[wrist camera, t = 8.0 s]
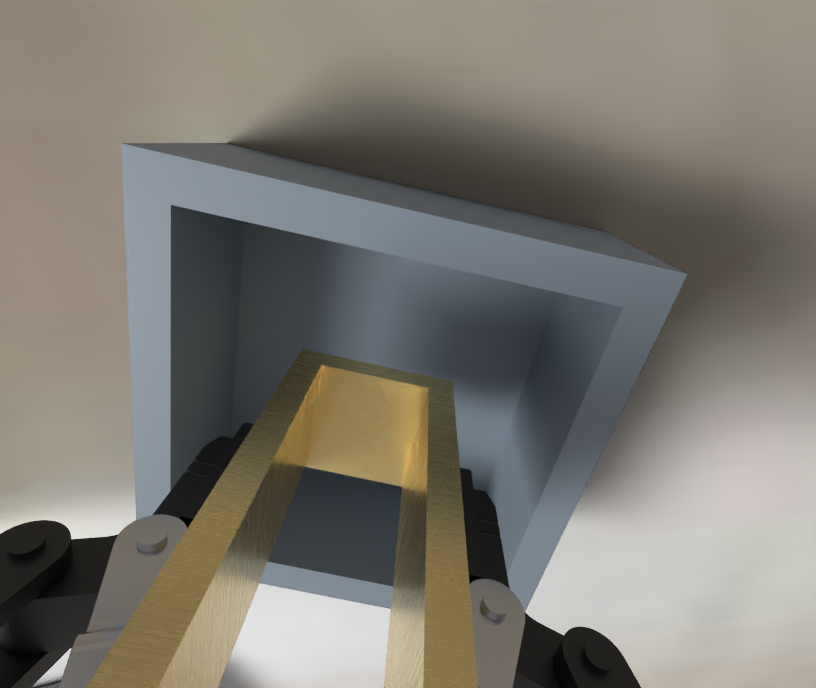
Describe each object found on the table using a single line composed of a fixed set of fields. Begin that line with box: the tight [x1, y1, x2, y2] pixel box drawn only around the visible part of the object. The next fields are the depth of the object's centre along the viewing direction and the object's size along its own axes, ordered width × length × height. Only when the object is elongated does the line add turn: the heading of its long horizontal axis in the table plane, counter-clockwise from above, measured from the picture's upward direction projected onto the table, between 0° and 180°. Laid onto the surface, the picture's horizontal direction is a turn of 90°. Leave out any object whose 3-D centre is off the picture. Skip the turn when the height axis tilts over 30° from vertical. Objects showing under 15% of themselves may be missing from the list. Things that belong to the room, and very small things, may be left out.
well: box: [121, 143, 687, 612], centre depth 17 cm, size 14×14×6 cm
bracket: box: [86, 349, 478, 688], centre depth 11 cm, size 5×4×10 cm
